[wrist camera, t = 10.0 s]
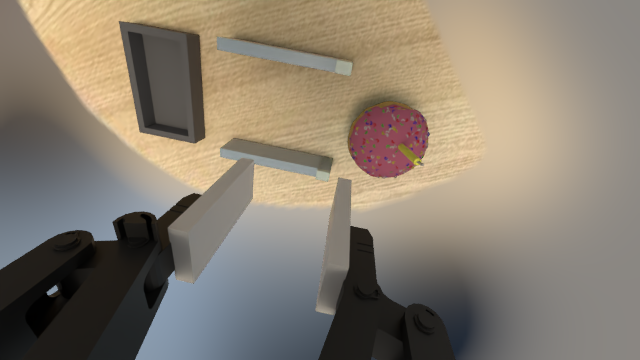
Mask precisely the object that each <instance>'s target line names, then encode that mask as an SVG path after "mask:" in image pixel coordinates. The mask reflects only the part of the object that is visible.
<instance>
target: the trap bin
mask: <svg viewBox="0 0 640 360" xmlns="http://www.w3.org/2000/svg"><path fill="white" fill-rule="evenodd" d="M119 24H120V30H121V35H122V40H123V46H124V51H125V56H126V61H127V67H128V72H129V77H130V83H131V88H132V93H133V98H134V104H135V109H136V114H137V120H138V125H139V130H140V132H142V133H147V134H151V135H156V136H161V137H166V138H171V139H176V140H180V141H185V142H190V143H197V142H198V141H200V140H202V139H204V138H205V128H204V111H203V94H202V77H201V60H200V43H199V35H195V34H189V33H184V32H179V31H174V30H169V29H163V28H158V27H153V26H148V25H143V24H137V23H130V22H121V21H119Z"/></svg>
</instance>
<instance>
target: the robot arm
mask: <svg viewBox="0 0 640 360" xmlns="http://www.w3.org/2000/svg"><path fill="white" fill-rule="evenodd" d="M253 177H254V160H252V159H247V158H241V159H239V160H238V161H237V162H236V163H235V164H234V165H233V166H232V167H231V168H230V169H229V170H228V171H227V172H226V173H225V174H224V175H223V176H222V177H221V178H219V179H218V180H217V181H216V182H215V183H214V184H213V185H212V186H211V187H210V188H209V189H208V190H207V191H206V192H205V193H204V194H203V195H200V194H195V193H193V194H191V195H188V196H186V197H184V198H182V199H181V200H180V201H179V202H178V203H177V204H176V205H175V206H173V207H172V208H171V209H170V210H169V211H167V212H166V213H165V214H164V215H163V216H161V217H160V218H159V219H158V220H157V219H156V217H155V215H153V214H151V213H148V212H133V213H129V214H125V215H123V216H121V217H119V218H117V219H116V220H115V221H113V225H114V229H115V232H116V235H117V239H118V240H116V241H94V238H93V236H92V234H91V233H90V232H87V231H82V230H75V231H69V232H65V233H62V234H58V235H56V236H54V237H53V238H50V239H48V240H47V241H45V242H44V243H42V244H40V245H39V246H37V247H36V248H34V249H33V250H31V251H30V252H28V253H26V254H25V255H23V256H22V257H20V258H18V259H17V260H15V261H14V262H12V263H10V264H9V265H7V266H6V267H4V268H3V269H1V270H0V360H135V358H136V356H137V354H138V351H139V349H140V347H141V345H142V343H143V341H144V339H145V336H146V334H147V332H148V330H149V327H150V325H151V323H152V321H153V319H154V317H155V315H156V312H157V310H158V308H159V306H160V303H161V301H162V299H163V297H164V295H165V293H166V290H167V288H168V284H169V283H168V277H169V276H170V275H171V274H172V272H173V271H174V270H175V276H176V280H181V281H185V282H189V283H193V284H194V283H195V281H196V280H197V278H198V277H199V275H200V274H201V273H202V271H203V270H204V268H205V267H206V265H207V264H208V262H209V261H210V260H211V258H212V257H213V255H214V254H215V252H216V251H217V249H218V248H219V246H220V245H221V244H222V242H223V241H224V239H225V238H226V236H227V235H228V233H229V232H230V231H231V229H232V228H233V226H234V225H235V223H236V222H237V220H238V219H239V217H240V216H241V215H242V213H243V212H244V210H245V209H246V207H247V206H248V204H249V203H250V202H251V200H252V199H253ZM350 213H351V180H348V179H343V178H338V182H337V187H336V191H335V195H334V200H333V204H332V208H331V213H330V218H329V225H328V232H327V238H326V245H325V252H324V258H323V264H322V271H321V278H320V284H319V291H318V297H317V304H316V311H318V312H322V313H327V314H331V315H334V314H335V310H336V314H335V316H334V319H333V322H332V325H331V327H330V330H329V332H328V335H327V338H326V341H325V343H324V346H323V349H322V351H321V354H320V357H319V359H318V360H371V357H374V358H375V359H377V360H455V357H454V353H453V350H452V347H451V344H450V340H449V337H448V334H447V331H446V328H445V325H444V323H443V321H442V320H441V318H440V317H439V316H438V315H437V314H436V312H434V311H433V310H432V309H430V308H429V307H427V306H424V305H422V304H412V305H409V306H408V307H407V308H405V307H403V306H401V305H399V304H397V303H396V302H393V301H392V300H391V299H389V298H388V297H387V296H385V295H384V294H383V292H382V290H381V288H380V286H379V285H378V284H377V279H376V269H375V258H374V248H373V237H372V236H371V234H370V233H369V231H368V230H367V229H363V228H358V227H353V226H350ZM55 285H56V286H57V287H58V291H56V292H55V293H53V294H51V295H47V293H46V292H47V291H49V289H51V288H52V287H54V286H55Z"/></svg>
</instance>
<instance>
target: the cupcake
mask: <svg viewBox="0 0 640 360" xmlns="http://www.w3.org/2000/svg"><path fill="white" fill-rule="evenodd" d="M428 133H429V132H428V127H427V123H426V119H425V118H424V117H423V115H422V114H421V113H420V112H419V111H417V110H413V109H412V108H410V107H409V106H407V105H405V104H401V103H397V102H392V101H387V102H383V103H379V104H377V105H375V106H372V107H368V108H366V109H365V110H364V111H363V112H362V113H361V114H360V115H359V116H358V117H357V118H356V119H355V121H354V122H353V123H352V126H351V129H350V132H349V136H348V148H349V152H350V154H351V156H352V158H353V159H354V161H355V162H356V164H357V165H358V166H359V167H360V168H361V169H362V170H363V171H365V172H366V173H367V174H369V175H370V176H374V177H378V178H379V177H382V178H383V177H385V178H386V177H395V176H396V177H397V176H399V175H401V174H404V173H406V172H408V171H409V170H411V169H413V168H414V167H415V166H417V165H421V166H424V164H423V163H421V159H422V158H423V156H424V154H425V151H426V149H427V147H428V136H429V135H430V134H428ZM396 177H395V178H396Z"/></svg>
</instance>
